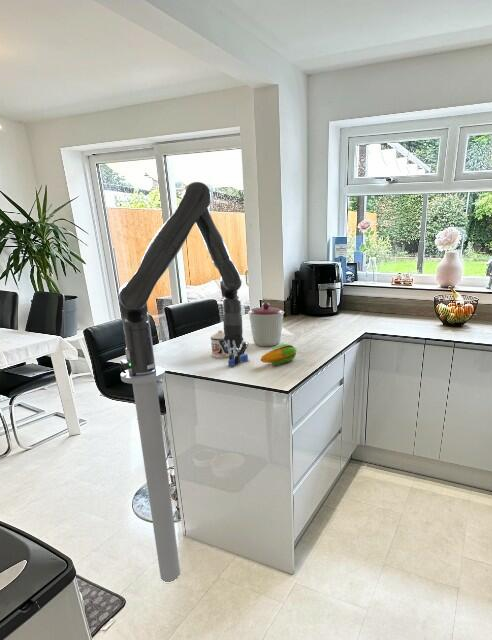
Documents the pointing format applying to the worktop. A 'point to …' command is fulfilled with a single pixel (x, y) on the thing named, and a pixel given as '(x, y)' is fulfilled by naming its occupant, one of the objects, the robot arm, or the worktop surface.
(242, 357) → the blue toy block
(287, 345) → the corn
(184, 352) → the worktop surface
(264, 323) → the canister
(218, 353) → the teacup with lid
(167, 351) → the worktop surface
